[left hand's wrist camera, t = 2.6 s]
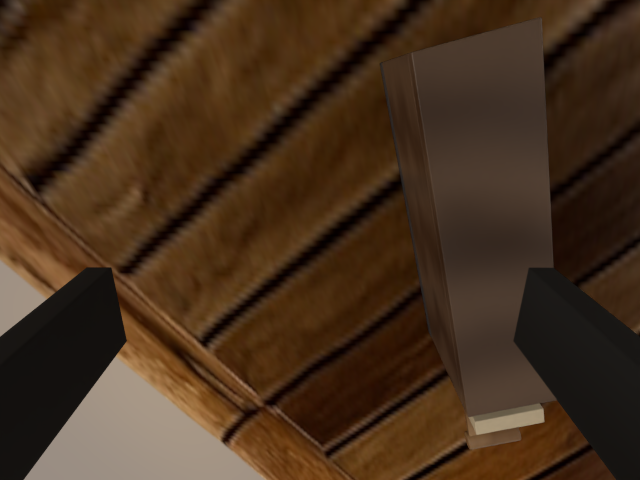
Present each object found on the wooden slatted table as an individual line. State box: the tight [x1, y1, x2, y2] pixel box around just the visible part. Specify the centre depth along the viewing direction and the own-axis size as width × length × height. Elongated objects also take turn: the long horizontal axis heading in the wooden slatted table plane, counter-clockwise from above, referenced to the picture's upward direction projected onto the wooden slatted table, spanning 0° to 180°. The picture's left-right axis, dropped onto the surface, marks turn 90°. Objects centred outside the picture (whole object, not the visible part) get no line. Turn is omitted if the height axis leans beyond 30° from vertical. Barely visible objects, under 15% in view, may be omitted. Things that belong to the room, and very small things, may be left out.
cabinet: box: [380, 17, 557, 417], centre depth 26 cm, size 22×6×10 cm, turn 14°
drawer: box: [464, 403, 544, 450], centre depth 28 cm, size 26×4×8 cm, turn 14°
